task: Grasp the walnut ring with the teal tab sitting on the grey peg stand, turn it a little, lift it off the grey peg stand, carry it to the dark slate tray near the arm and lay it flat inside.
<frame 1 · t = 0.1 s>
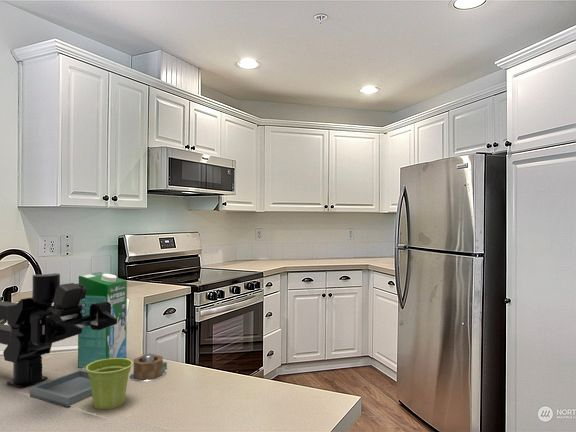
hand: (99, 326, 92), 17 cm above the counter, tool horizontal, fingers open, 9 cm apart
milk carton: (102, 363, 117), on the counter
grey peg stand: (148, 376, 107), on the counter
plant pot: (109, 405, 91), on the counter
ring: (148, 374, 107), resting on grey peg stand
tray: (75, 391, 98), on the counter
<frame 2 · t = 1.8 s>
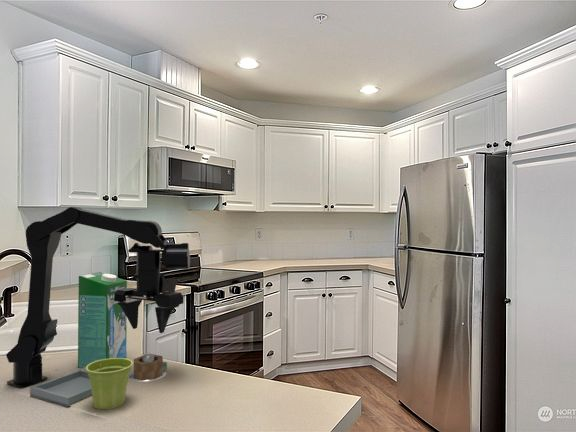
hand: (148, 330, 107), 12 cm above the counter, tool pointing down, fingers open, 9 cm apart
nothing on the counter moved.
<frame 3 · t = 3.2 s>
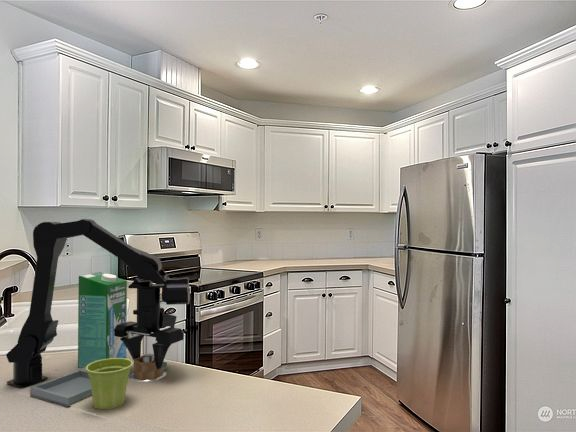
hand: (148, 366, 107), 3 cm above the counter, tool pointing down, fingers closed on ring, 7 cm apart
ring: (148, 374, 107), resting on grey peg stand, touching gripper
everything else where it was.
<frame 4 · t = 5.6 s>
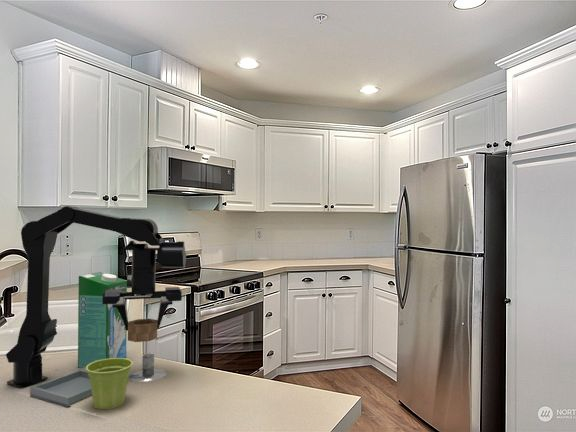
hand: (142, 329, 106), 12 cm above the counter, tool pointing down, fingers closed on ring, 7 cm apart
ring: (142, 337, 106), point 10 cm above the counter, touching gripper
everything else where it was.
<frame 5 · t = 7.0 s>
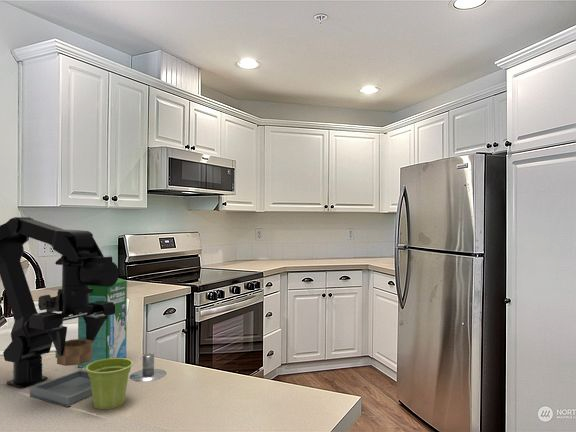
hand: (75, 351, 98), 9 cm above the counter, tool pointing down, fingers closed on ring, 7 cm apart
ring: (75, 360, 98), point 7 cm above the counter, touching gripper
everything else where it was.
when the fingers open (5 cm above the counter, at t = 8.3 s): ring drops 1 cm, resting on tray.
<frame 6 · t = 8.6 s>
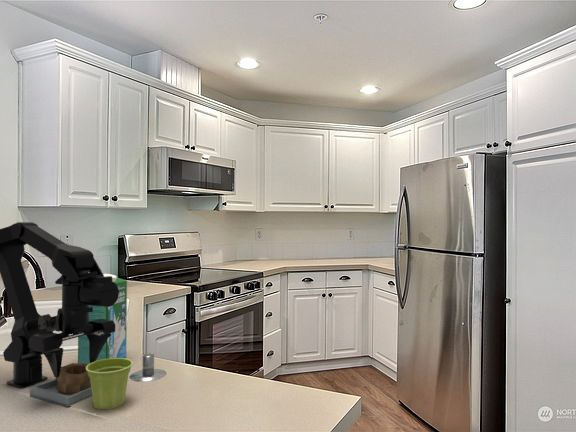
hand: (75, 370, 98), 5 cm above the counter, tool pointing down, fingers open, 9 cm apart
ring: (74, 386, 98), point 1 cm above the counter, tilted 9°, touching tray
everything else where it was.
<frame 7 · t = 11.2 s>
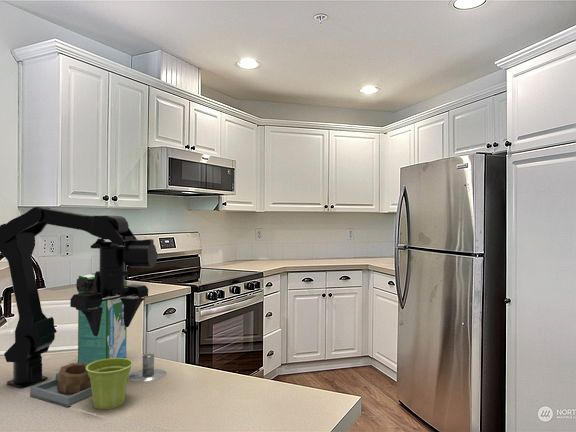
hand: (111, 331, 102), 13 cm above the counter, tool pointing down, fingers open, 9 cm apart
nothing on the counter moved.
at the end: ring inside the target area on the tray (0.1 cm from its centre), point 1.1 cm above the tray's base; ring tilted 9°; the gripper is holding nothing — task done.
